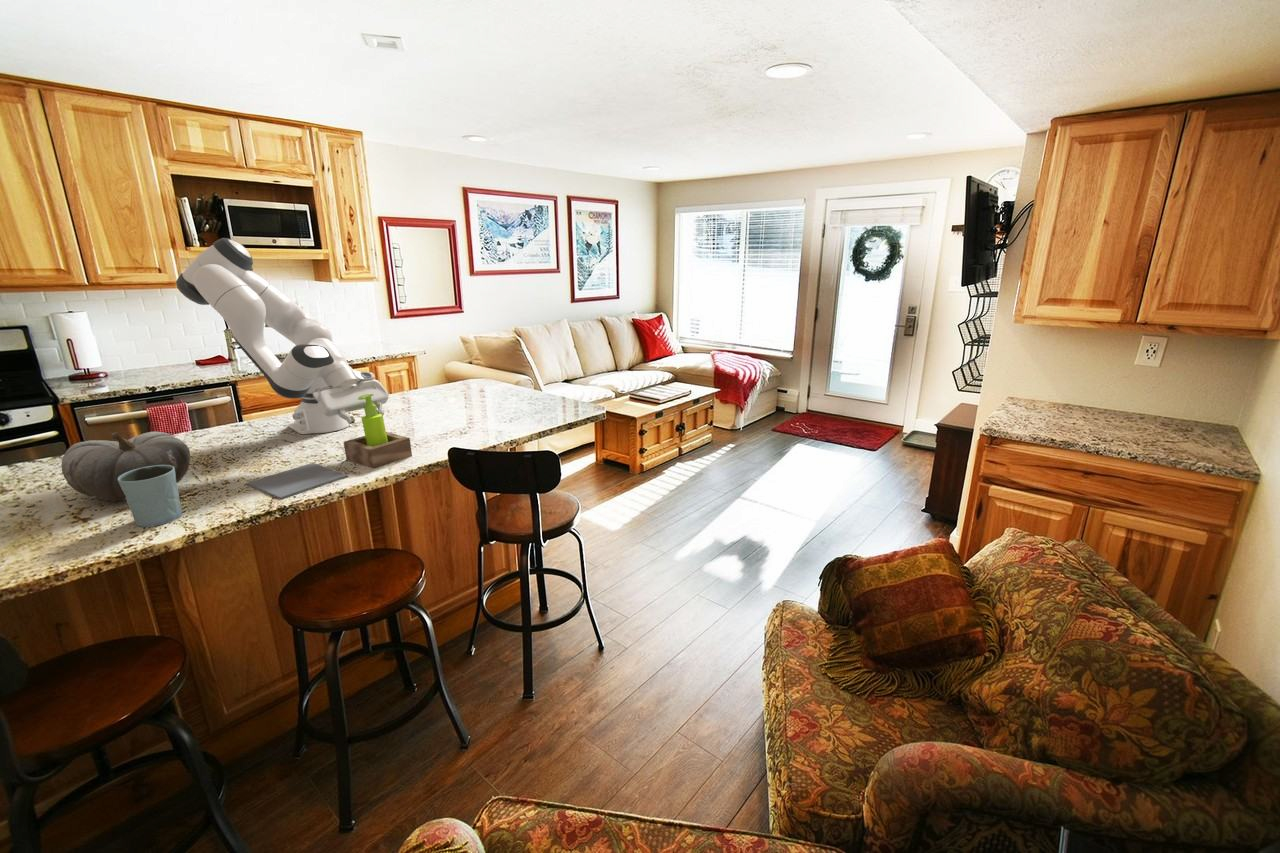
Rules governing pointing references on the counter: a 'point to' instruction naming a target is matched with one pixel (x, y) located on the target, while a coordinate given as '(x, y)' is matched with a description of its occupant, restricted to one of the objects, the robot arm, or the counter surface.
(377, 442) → the soap dispenser
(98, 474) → the gourd
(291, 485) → the slate mat
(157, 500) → the blue gray cup
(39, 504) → the counter surface
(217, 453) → the counter surface
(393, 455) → the box
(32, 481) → the counter surface
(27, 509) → the counter surface
